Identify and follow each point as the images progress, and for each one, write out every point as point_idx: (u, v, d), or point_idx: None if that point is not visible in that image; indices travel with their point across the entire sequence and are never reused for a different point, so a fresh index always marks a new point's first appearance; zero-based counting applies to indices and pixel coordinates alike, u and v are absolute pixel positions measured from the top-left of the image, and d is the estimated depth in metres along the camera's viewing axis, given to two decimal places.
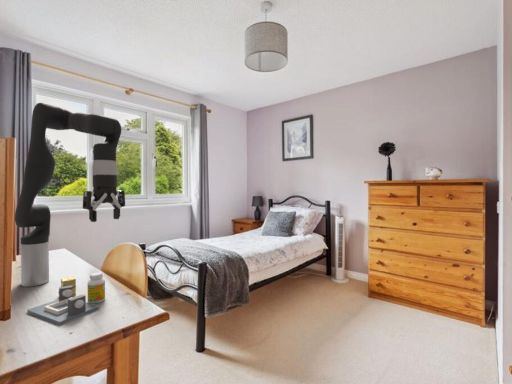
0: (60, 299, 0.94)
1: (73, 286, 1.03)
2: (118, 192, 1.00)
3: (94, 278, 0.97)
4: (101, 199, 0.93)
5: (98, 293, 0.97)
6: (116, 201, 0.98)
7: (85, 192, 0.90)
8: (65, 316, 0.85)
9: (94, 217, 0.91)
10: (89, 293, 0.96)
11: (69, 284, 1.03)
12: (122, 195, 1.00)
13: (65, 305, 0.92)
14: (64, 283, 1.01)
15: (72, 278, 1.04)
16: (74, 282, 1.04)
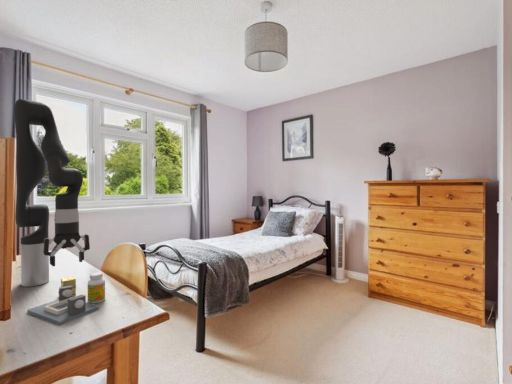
0: (60, 299, 0.94)
1: (73, 286, 1.03)
2: None
3: (94, 278, 0.97)
4: None
5: (98, 293, 0.97)
6: None
7: None
8: (65, 316, 0.85)
9: None
10: (89, 293, 0.96)
11: (69, 284, 1.03)
12: None
13: (65, 305, 0.92)
14: (64, 283, 1.01)
15: (72, 278, 1.04)
16: (74, 282, 1.04)
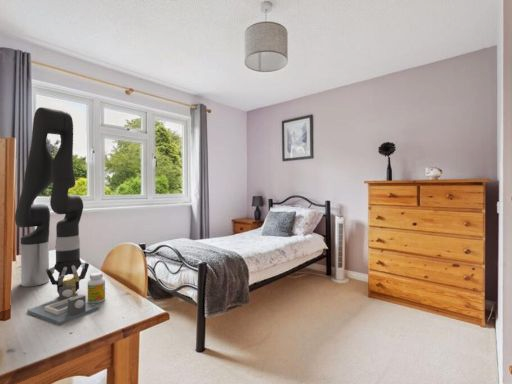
0: (60, 299, 0.94)
1: (73, 286, 1.03)
2: None
3: (94, 278, 0.97)
4: None
5: (98, 293, 0.97)
6: None
7: None
8: (65, 316, 0.85)
9: None
10: (89, 293, 0.96)
11: (69, 284, 1.03)
12: None
13: (65, 305, 0.92)
14: (64, 283, 1.01)
15: (72, 278, 1.04)
16: (74, 282, 1.04)
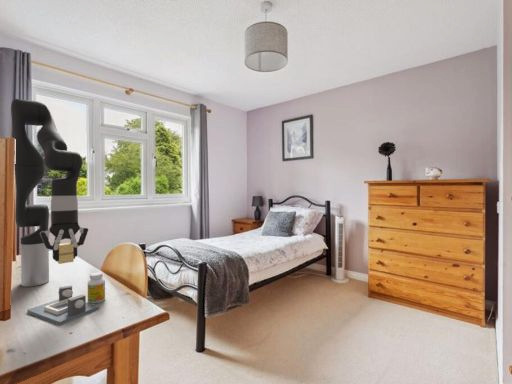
0: (60, 299, 0.94)
1: (70, 252, 0.92)
2: None
3: (94, 278, 0.97)
4: None
5: (98, 293, 0.97)
6: None
7: None
8: (65, 316, 0.85)
9: None
10: (89, 293, 0.96)
11: (66, 249, 0.92)
12: None
13: (65, 305, 0.92)
14: (60, 248, 0.91)
15: (69, 243, 0.94)
16: (72, 247, 0.93)
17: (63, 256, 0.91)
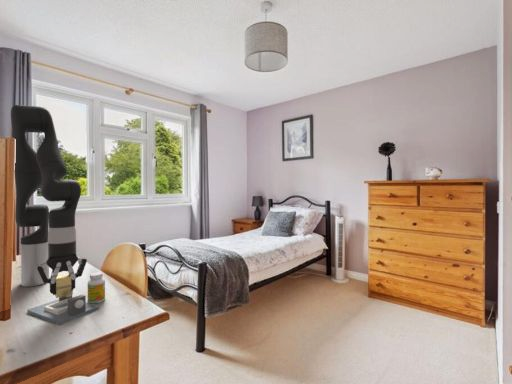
0: (60, 299, 0.94)
1: (68, 285, 0.89)
2: None
3: (94, 278, 0.97)
4: None
5: (98, 293, 0.97)
6: None
7: None
8: (65, 316, 0.85)
9: None
10: (89, 293, 0.96)
11: (63, 282, 0.89)
12: None
13: (65, 305, 0.92)
14: (58, 281, 0.87)
15: (67, 276, 0.90)
16: (69, 280, 0.90)
17: (60, 290, 0.88)
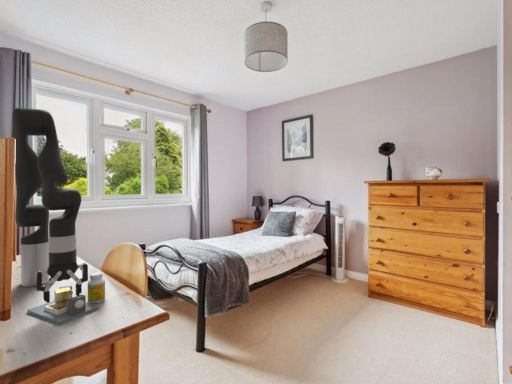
0: None
1: (68, 298, 0.90)
2: None
3: (94, 278, 0.97)
4: None
5: (98, 293, 0.97)
6: None
7: (86, 264, 0.95)
8: (65, 316, 0.85)
9: None
10: (89, 293, 0.96)
11: (64, 296, 0.89)
12: None
13: None
14: (58, 295, 0.88)
15: (67, 289, 0.91)
16: (70, 294, 0.90)
17: (60, 304, 0.88)
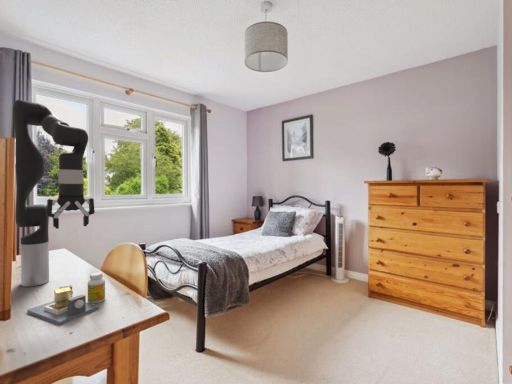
0: None
1: (68, 298, 0.90)
2: None
3: (94, 278, 0.97)
4: None
5: (98, 293, 0.97)
6: None
7: None
8: (65, 316, 0.85)
9: None
10: (89, 293, 0.96)
11: (64, 296, 0.89)
12: None
13: None
14: (58, 295, 0.88)
15: (67, 289, 0.91)
16: (70, 294, 0.90)
17: (60, 304, 0.88)
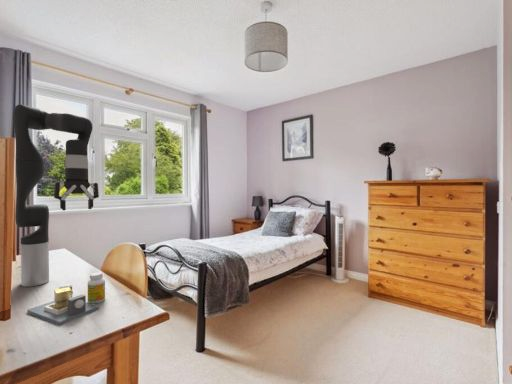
0: None
1: (68, 298, 0.90)
2: None
3: (94, 278, 0.97)
4: None
5: (98, 293, 0.97)
6: None
7: None
8: (65, 316, 0.85)
9: None
10: (89, 293, 0.96)
11: (64, 296, 0.89)
12: None
13: None
14: (58, 295, 0.88)
15: (67, 289, 0.91)
16: (70, 294, 0.90)
17: (60, 304, 0.88)
